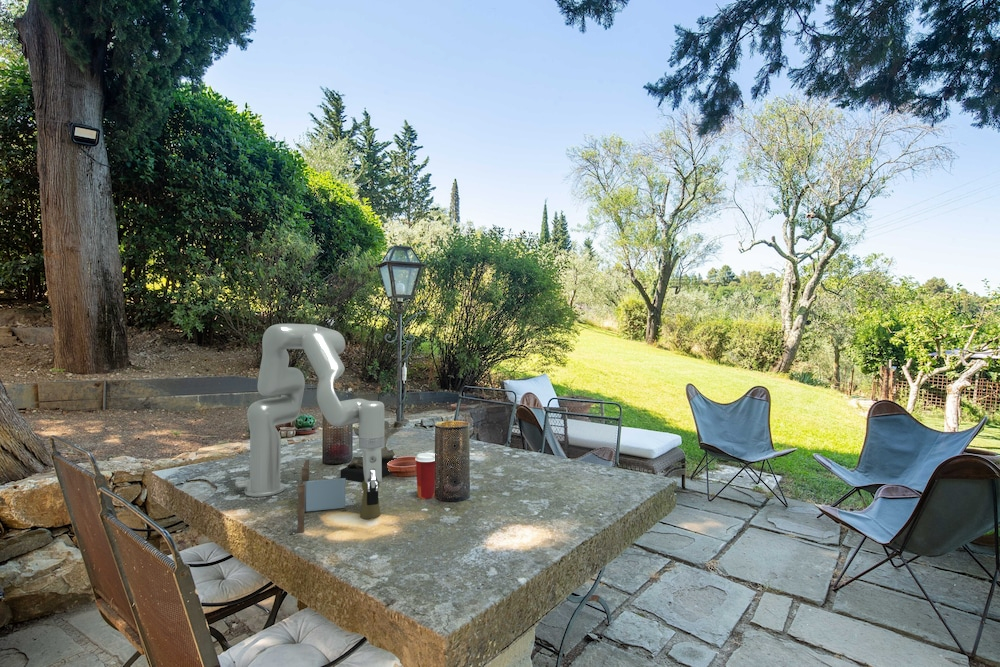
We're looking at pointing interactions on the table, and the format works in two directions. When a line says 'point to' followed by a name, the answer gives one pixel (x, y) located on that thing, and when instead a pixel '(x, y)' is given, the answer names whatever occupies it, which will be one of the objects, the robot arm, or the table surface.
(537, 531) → the table surface
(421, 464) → the paper cup
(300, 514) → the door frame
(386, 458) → the coral
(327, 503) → the door
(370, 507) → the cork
